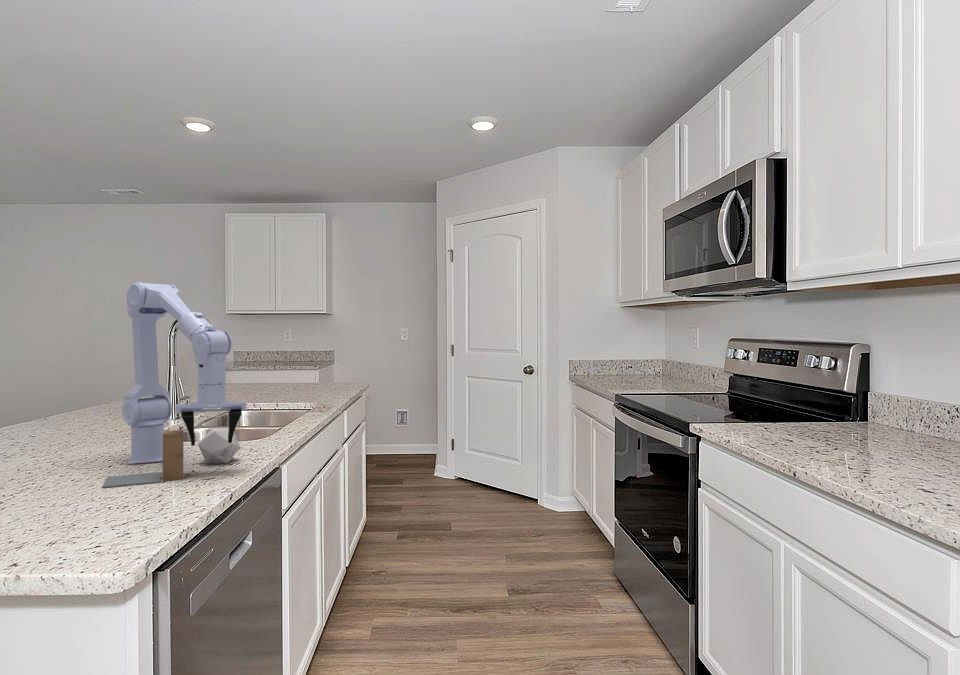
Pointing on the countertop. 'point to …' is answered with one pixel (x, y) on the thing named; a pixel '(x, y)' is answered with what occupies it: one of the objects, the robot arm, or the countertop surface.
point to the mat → (132, 479)
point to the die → (218, 446)
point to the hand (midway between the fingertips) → (211, 443)
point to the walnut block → (172, 455)
